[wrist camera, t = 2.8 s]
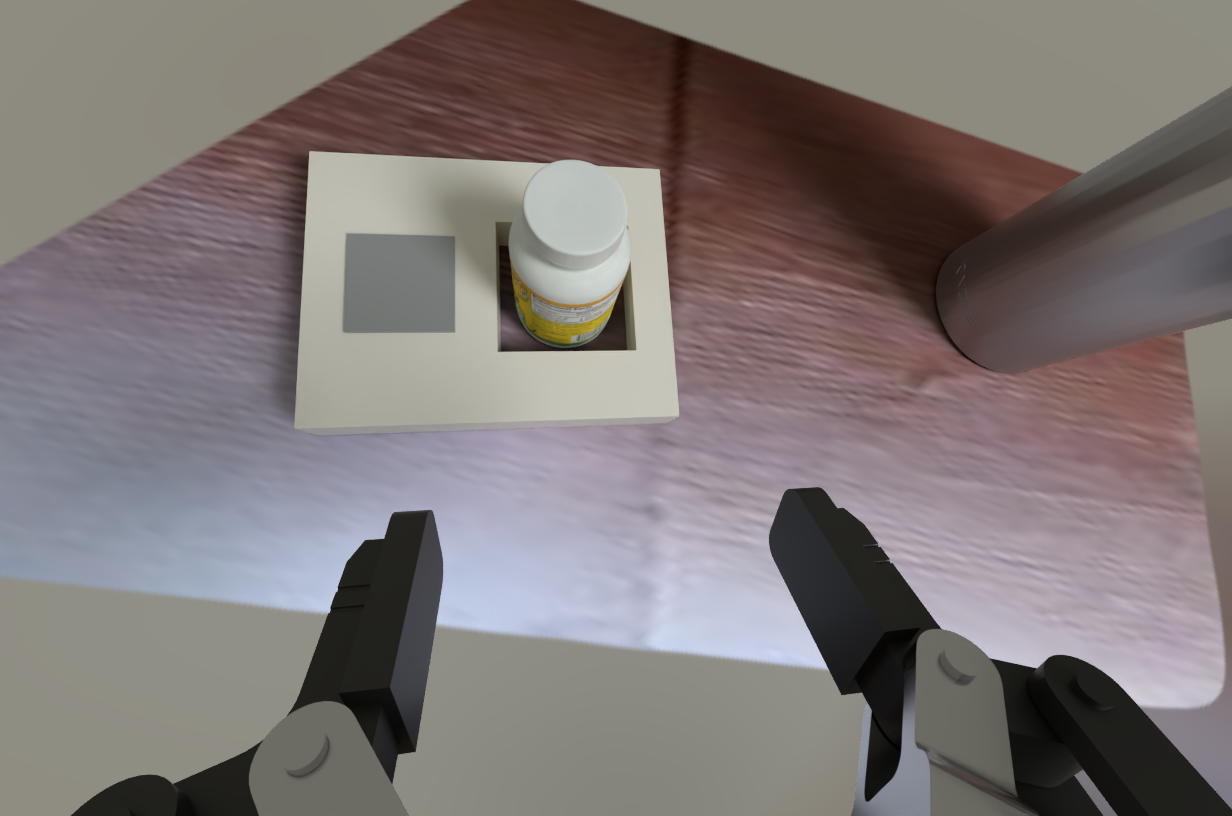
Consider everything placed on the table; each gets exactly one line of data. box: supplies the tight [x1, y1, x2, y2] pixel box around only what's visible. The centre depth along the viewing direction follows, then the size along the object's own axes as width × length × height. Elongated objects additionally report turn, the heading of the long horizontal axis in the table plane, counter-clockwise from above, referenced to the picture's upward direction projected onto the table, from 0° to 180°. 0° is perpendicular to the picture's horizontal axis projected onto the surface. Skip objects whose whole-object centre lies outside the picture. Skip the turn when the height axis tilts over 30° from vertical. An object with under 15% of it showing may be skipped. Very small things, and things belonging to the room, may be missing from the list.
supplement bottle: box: [509, 160, 631, 348], centre depth 23 cm, size 5×5×10 cm
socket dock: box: [294, 151, 679, 436], centre depth 26 cm, size 18×14×3 cm
